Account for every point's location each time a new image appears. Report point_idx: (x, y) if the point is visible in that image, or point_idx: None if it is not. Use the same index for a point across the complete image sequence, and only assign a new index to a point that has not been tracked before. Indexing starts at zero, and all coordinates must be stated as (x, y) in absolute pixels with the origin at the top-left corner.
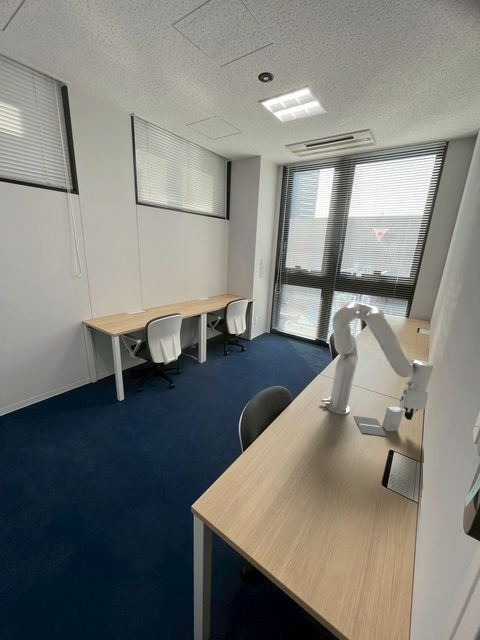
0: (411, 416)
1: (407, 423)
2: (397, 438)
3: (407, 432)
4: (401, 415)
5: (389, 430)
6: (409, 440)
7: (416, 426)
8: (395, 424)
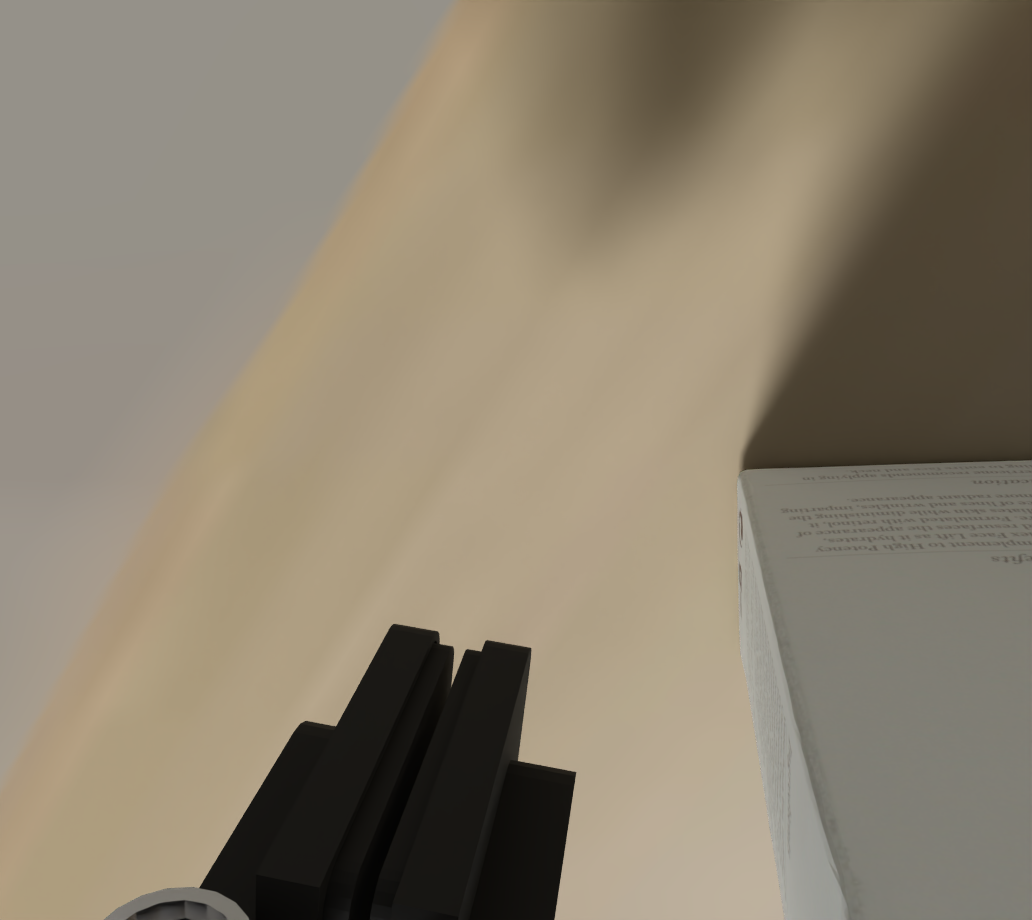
0: (362, 738)
1: (289, 728)
2: (952, 179)
3: (476, 437)
4: (876, 828)
5: (1015, 468)
6: (621, 121)
7: (130, 638)
8: (936, 559)
